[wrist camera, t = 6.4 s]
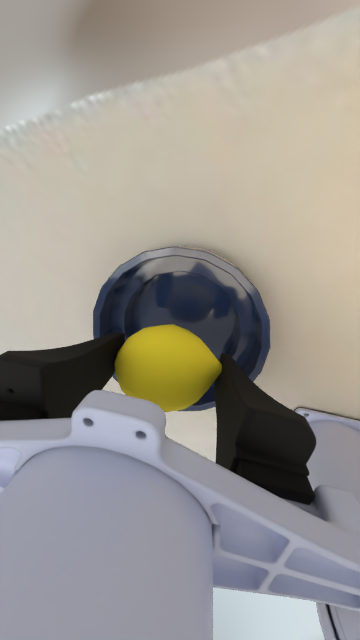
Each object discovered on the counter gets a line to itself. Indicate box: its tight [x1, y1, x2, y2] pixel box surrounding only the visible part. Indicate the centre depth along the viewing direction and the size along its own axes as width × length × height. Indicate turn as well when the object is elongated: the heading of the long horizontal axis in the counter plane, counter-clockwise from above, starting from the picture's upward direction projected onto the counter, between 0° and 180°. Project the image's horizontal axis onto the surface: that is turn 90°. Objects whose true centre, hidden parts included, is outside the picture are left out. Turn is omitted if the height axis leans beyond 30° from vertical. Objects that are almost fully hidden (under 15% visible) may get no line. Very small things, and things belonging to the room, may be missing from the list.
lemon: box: [114, 324, 222, 412], centre depth 13 cm, size 7×5×5 cm
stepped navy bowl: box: [93, 246, 270, 411], centre depth 18 cm, size 14×14×4 cm
